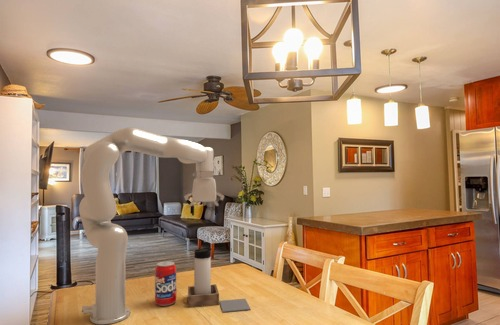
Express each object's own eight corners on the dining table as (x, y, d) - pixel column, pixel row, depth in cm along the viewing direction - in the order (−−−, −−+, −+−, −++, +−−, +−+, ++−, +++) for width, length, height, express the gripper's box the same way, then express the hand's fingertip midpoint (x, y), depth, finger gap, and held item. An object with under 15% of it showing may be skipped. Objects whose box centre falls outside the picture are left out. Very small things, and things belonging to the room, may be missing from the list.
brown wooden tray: (188, 307, 120) (188, 296, 120) (188, 296, 131) (188, 286, 131) (219, 304, 122) (219, 293, 122) (216, 294, 133) (216, 284, 133)
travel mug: (210, 303, 123) (210, 250, 124) (193, 303, 123) (192, 250, 124) (212, 297, 129) (212, 246, 130) (196, 297, 130) (195, 246, 130)
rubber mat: (222, 312, 115) (222, 311, 115) (219, 302, 125) (219, 300, 125) (250, 310, 117) (250, 308, 117) (245, 299, 127) (245, 298, 127)
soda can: (172, 297, 129) (172, 259, 130) (179, 304, 123) (179, 263, 124) (152, 302, 125) (152, 262, 126) (158, 309, 119) (158, 267, 119)
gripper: (183, 175, 138) (183, 216, 137) (224, 175, 140) (224, 215, 139) (185, 175, 145) (184, 214, 144) (224, 175, 147) (223, 214, 146)
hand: (204, 215), depth 142 cm, fingers open, 9 cm apart
